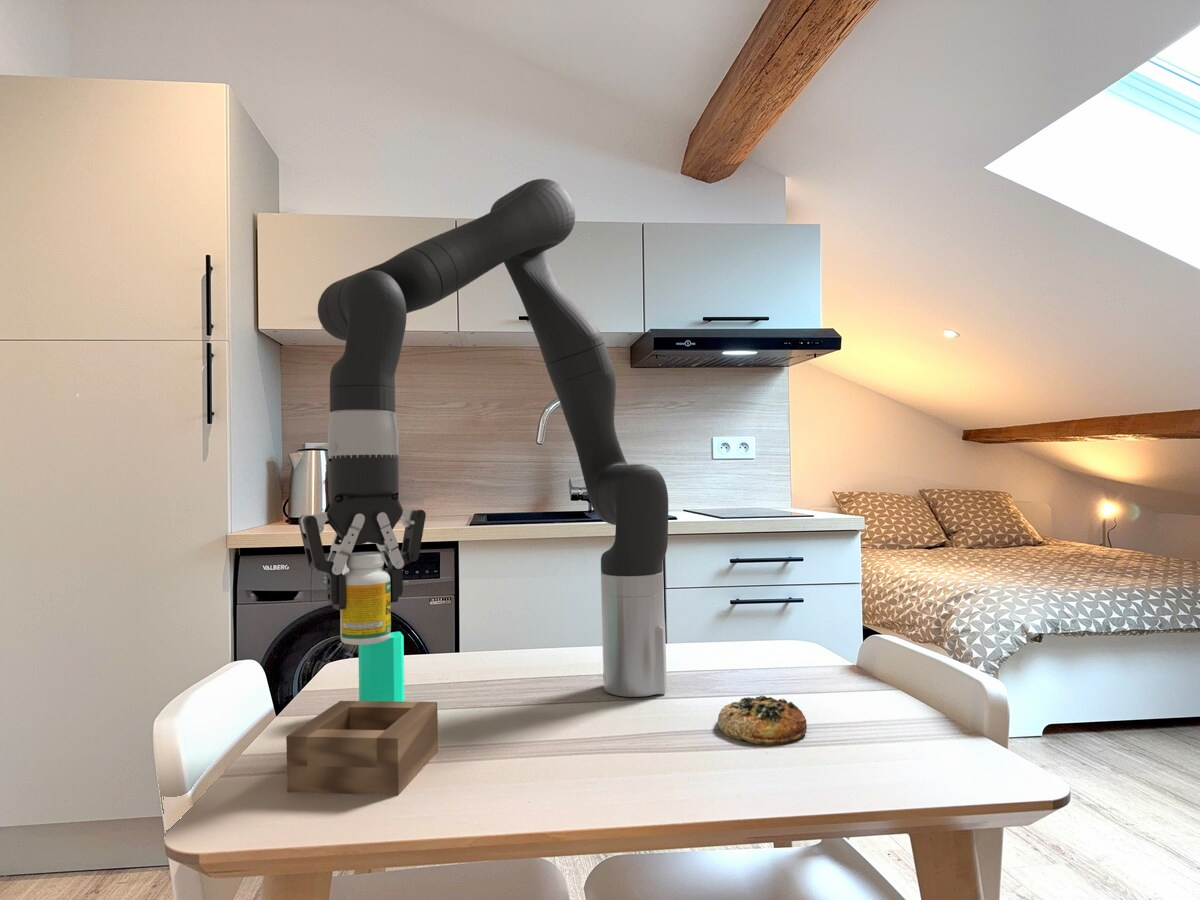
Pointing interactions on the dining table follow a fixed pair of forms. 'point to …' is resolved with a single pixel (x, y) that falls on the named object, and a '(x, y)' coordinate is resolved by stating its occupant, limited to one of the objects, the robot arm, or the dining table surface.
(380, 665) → the candle
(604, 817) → the dining table surface
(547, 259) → the robot arm
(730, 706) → the bread roll
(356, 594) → the supplement bottle
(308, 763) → the walnut tray
